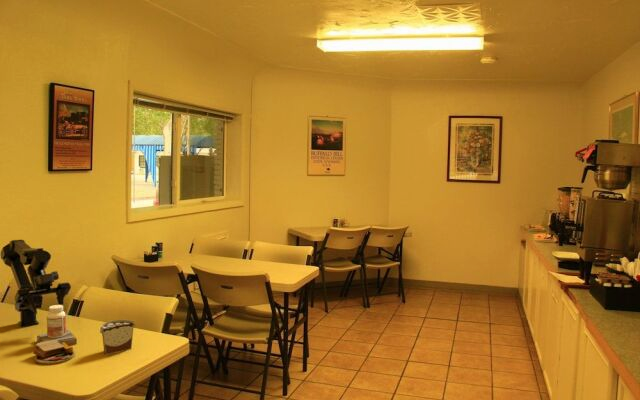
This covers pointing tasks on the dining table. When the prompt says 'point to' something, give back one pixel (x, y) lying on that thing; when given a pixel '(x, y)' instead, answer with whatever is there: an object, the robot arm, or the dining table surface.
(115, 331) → the food container
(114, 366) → the dining table surface
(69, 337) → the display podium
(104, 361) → the dining table surface
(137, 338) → the dining table surface
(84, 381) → the dining table surface
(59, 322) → the pill bottle
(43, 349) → the toy sandwich meal
